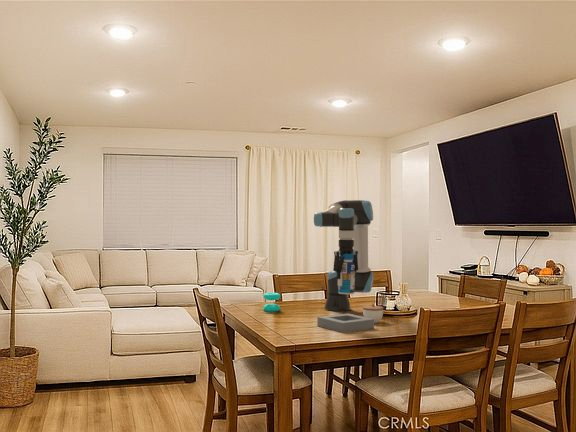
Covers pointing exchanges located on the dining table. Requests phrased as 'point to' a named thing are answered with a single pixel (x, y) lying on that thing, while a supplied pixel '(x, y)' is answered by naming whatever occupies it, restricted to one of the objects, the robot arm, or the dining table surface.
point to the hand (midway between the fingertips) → (345, 285)
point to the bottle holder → (345, 322)
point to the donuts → (271, 306)
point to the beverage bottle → (347, 275)
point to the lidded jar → (373, 312)
